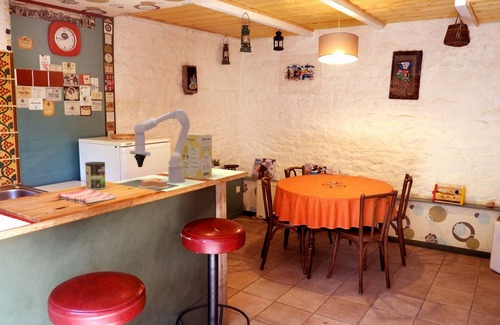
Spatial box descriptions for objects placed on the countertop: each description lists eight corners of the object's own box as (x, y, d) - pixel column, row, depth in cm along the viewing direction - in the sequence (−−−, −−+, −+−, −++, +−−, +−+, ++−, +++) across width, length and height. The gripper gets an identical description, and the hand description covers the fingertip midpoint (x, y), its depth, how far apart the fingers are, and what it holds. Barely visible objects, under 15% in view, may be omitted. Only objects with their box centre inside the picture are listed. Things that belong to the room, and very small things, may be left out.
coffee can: (109, 186, 233) (108, 162, 231) (99, 190, 223) (98, 164, 221) (92, 185, 235) (91, 161, 233) (81, 189, 225) (81, 163, 223)
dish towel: (86, 193, 217) (86, 186, 217) (117, 199, 205) (116, 192, 205) (56, 199, 203) (56, 192, 203) (87, 206, 191) (87, 198, 190)
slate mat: (138, 180, 255) (138, 179, 255) (178, 185, 240) (178, 185, 240) (115, 184, 239) (115, 184, 239) (156, 191, 224) (156, 190, 224)
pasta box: (211, 177, 270) (211, 134, 267) (200, 179, 262) (200, 135, 258) (191, 174, 281) (191, 132, 277) (180, 176, 273) (180, 133, 269)
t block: (155, 183, 244) (155, 178, 244) (171, 185, 238) (171, 180, 238) (140, 186, 234) (140, 181, 233) (157, 188, 228) (156, 183, 227)
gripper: (125, 143, 244) (126, 166, 246) (144, 145, 237) (144, 168, 239) (134, 143, 250) (135, 165, 252) (152, 144, 243) (153, 167, 245)
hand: (140, 167), depth 246 cm, fingers closed
